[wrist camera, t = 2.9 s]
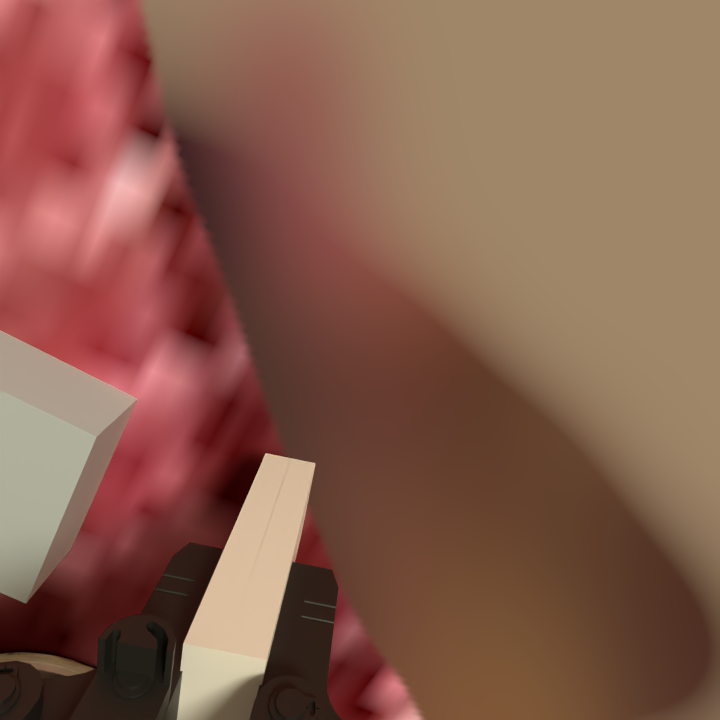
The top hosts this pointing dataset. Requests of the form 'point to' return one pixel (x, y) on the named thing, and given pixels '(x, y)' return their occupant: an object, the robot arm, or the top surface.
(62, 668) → the coffee can
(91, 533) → the top surface
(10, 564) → the grey flat block
